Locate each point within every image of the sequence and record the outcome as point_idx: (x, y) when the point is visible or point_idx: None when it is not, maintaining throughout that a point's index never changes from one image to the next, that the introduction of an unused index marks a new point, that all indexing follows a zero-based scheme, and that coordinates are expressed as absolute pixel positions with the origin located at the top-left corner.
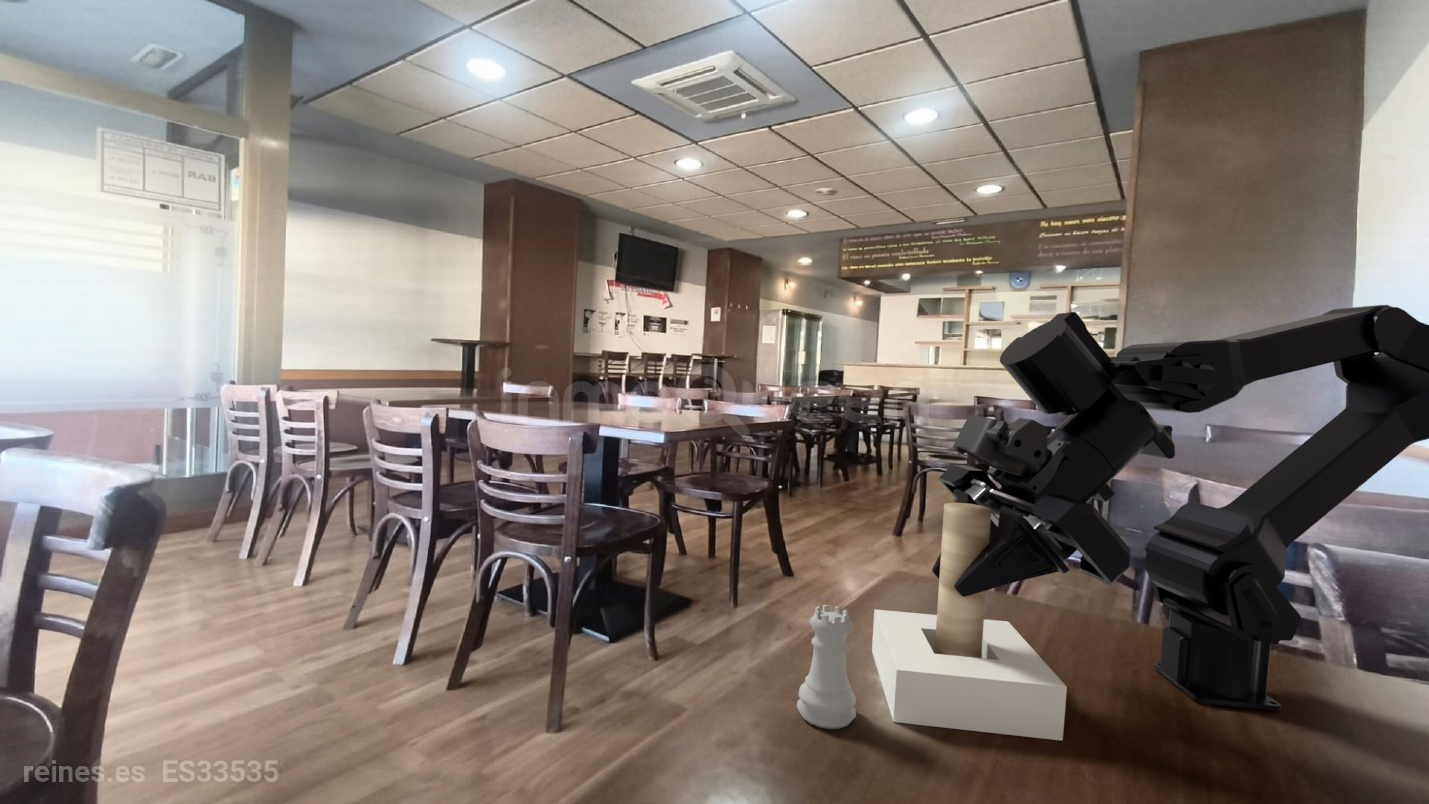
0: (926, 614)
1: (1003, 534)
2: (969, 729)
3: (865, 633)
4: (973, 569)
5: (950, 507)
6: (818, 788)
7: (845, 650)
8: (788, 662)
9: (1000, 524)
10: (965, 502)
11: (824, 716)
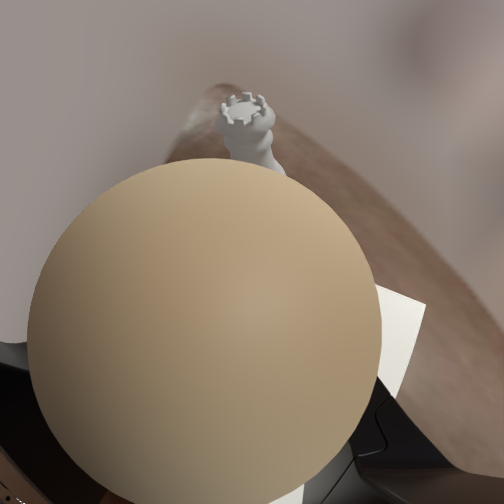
0: (393, 396)
1: (17, 352)
2: None
3: (452, 342)
4: None
5: (199, 172)
6: (170, 157)
7: (226, 147)
8: (375, 201)
9: (7, 358)
10: (437, 502)
11: None
